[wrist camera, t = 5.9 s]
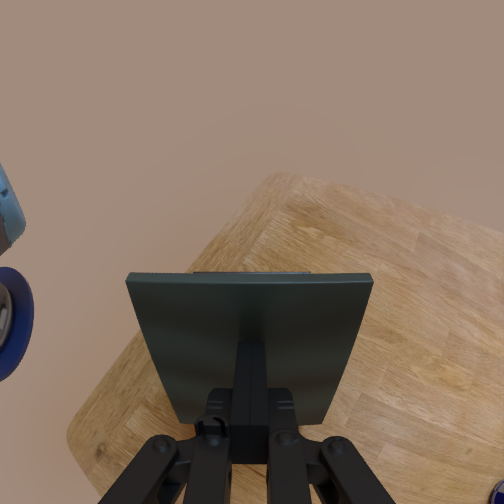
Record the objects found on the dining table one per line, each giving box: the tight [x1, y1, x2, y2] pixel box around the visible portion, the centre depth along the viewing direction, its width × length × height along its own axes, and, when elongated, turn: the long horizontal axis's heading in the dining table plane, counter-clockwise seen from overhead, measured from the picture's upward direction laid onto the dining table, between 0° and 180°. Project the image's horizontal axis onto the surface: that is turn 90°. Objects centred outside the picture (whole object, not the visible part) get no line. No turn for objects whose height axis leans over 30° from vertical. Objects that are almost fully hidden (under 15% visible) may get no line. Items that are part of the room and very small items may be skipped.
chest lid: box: [126, 272, 374, 426], centre depth 19 cm, size 16×13×1 cm
